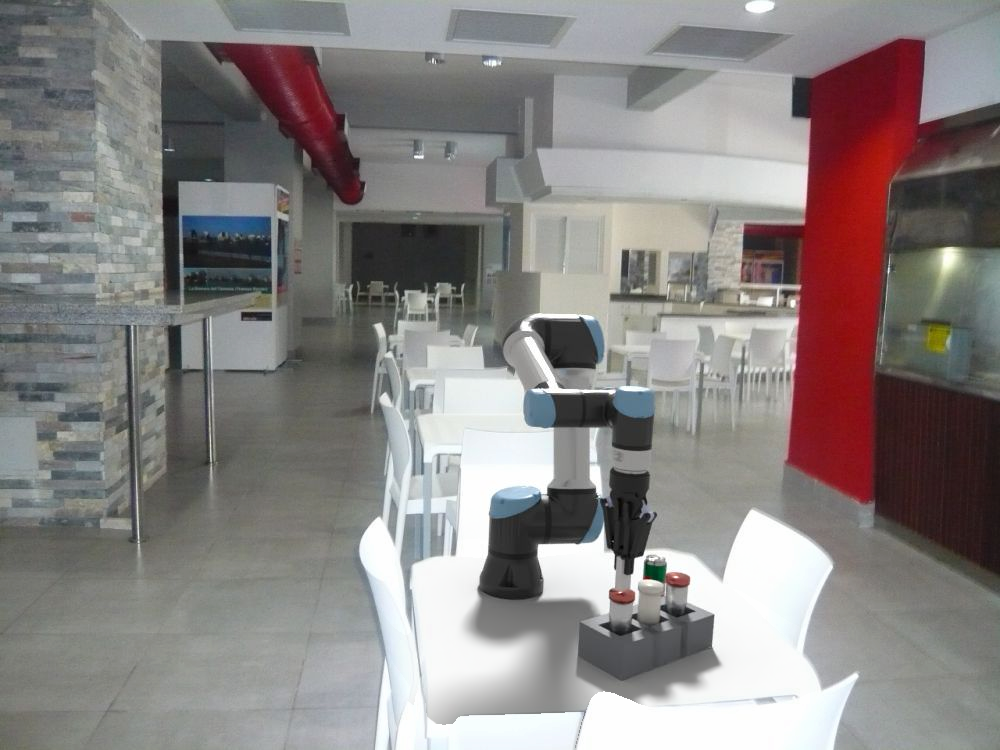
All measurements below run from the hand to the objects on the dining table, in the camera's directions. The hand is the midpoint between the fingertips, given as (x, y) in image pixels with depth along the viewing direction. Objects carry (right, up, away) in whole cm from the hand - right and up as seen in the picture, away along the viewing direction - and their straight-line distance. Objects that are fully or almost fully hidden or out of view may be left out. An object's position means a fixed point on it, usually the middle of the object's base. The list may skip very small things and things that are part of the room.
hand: (622, 588), depth 168 cm
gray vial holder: (+6, -14, +7) cm, 17 cm away
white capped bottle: (+6, -9, +6) cm, 13 cm away
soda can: (+11, -12, +28) cm, 32 cm away
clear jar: (+12, -9, +11) cm, 19 cm away
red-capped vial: (0, -10, +1) cm, 10 cm away
